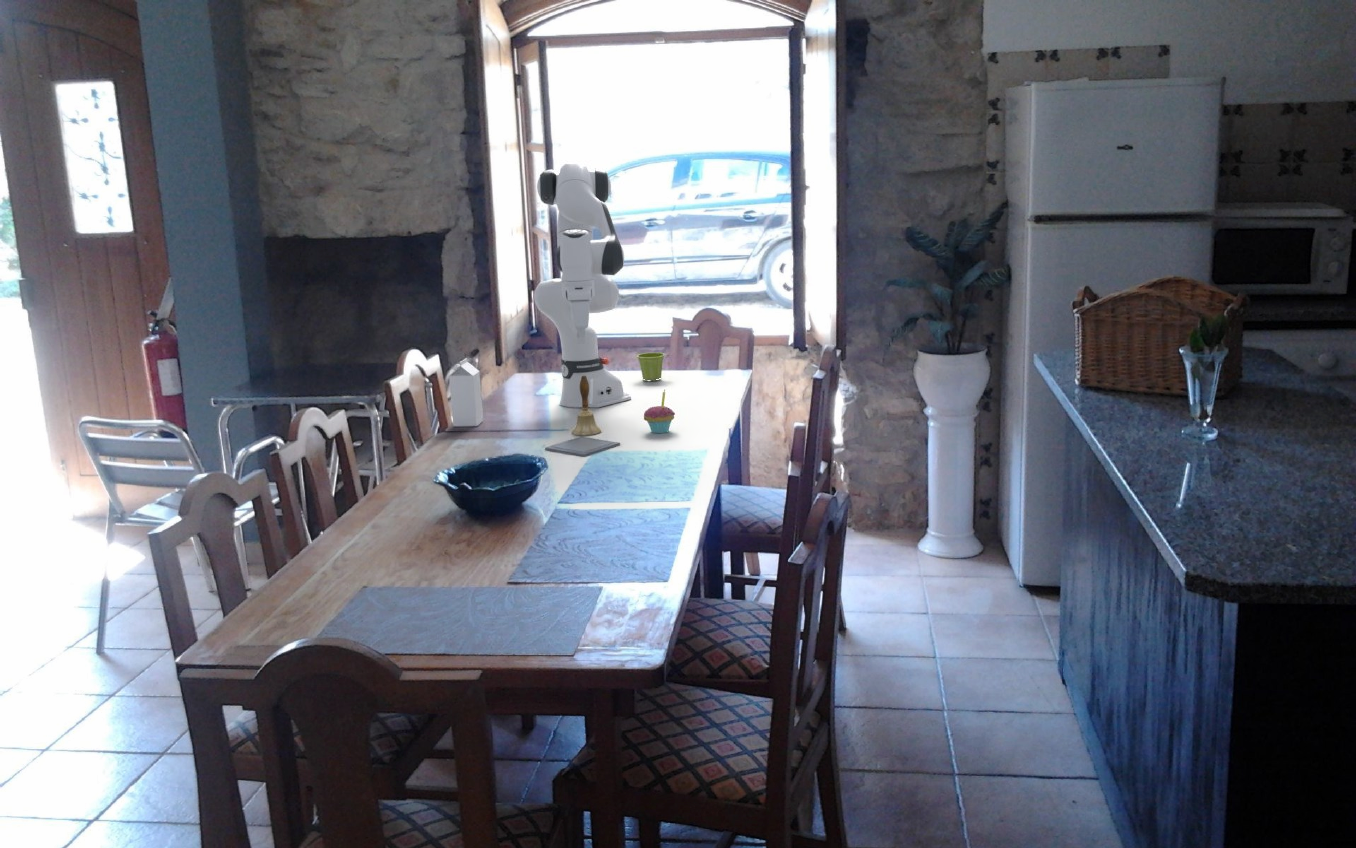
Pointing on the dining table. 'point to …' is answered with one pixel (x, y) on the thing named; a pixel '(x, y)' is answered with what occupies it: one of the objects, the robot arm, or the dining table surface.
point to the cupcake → (659, 417)
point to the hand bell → (585, 413)
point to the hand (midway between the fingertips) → (581, 340)
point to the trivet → (582, 446)
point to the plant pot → (651, 365)
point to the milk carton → (466, 395)
